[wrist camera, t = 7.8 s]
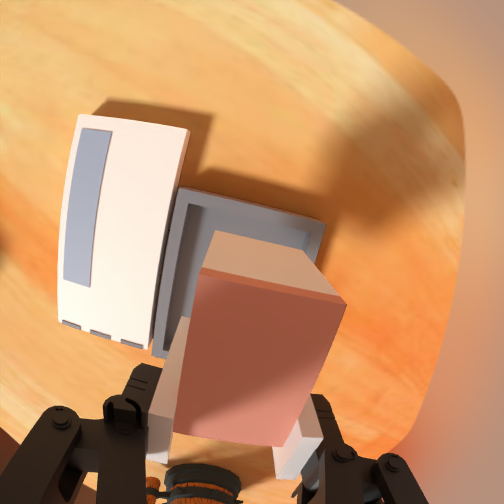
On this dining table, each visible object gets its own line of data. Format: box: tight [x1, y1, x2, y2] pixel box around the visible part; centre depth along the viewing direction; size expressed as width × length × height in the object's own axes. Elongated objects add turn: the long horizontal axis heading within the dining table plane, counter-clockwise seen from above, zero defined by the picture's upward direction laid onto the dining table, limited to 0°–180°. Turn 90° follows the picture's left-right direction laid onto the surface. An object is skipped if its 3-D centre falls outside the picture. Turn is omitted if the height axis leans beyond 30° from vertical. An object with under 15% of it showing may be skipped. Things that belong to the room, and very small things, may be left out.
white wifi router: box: [58, 114, 191, 350], centre depth 20 cm, size 16×8×2 cm, turn 166°
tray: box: [152, 186, 326, 359], centre depth 21 cm, size 13×10×2 cm
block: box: [173, 230, 347, 447], centre depth 11 cm, size 6×4×6 cm, turn 166°
